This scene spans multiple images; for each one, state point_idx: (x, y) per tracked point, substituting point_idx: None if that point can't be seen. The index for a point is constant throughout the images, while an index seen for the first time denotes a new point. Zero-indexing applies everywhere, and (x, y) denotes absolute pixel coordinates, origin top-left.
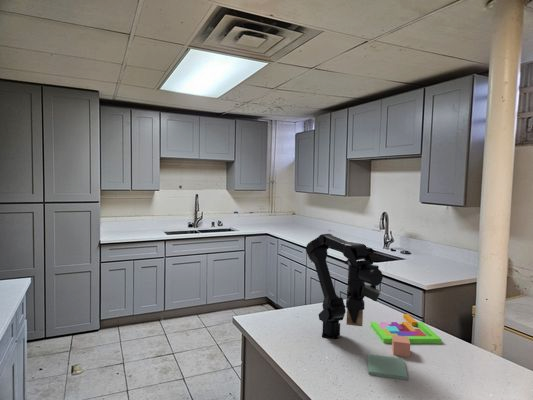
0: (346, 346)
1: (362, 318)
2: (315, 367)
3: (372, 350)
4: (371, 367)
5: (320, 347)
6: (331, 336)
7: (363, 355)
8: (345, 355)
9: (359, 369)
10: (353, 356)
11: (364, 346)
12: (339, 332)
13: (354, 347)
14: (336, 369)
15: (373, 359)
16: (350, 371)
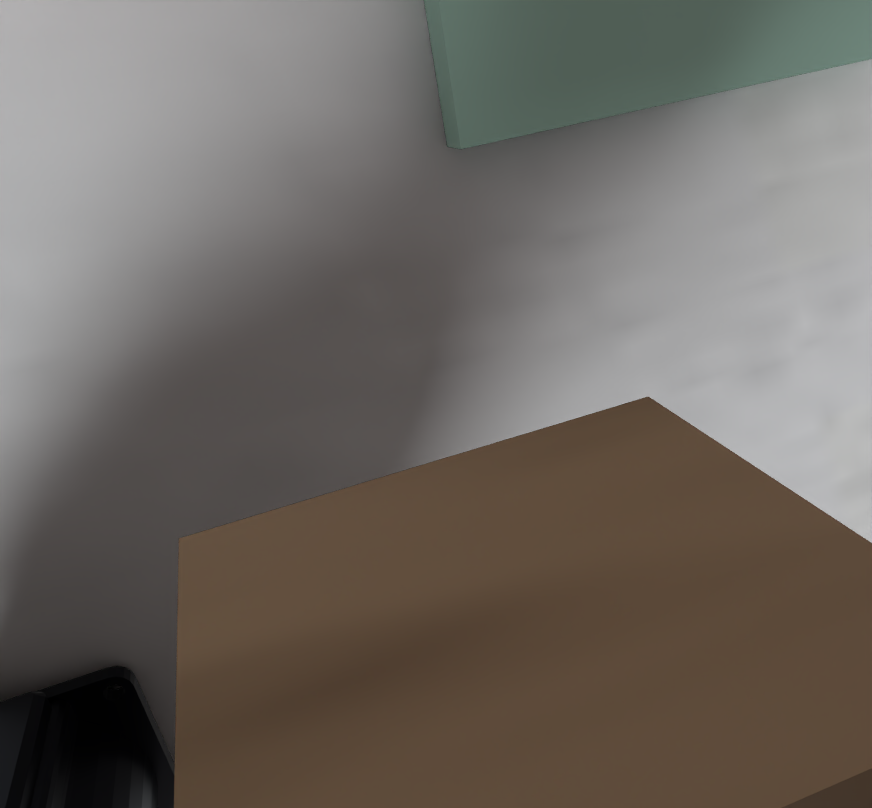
0: (286, 491)
1: (826, 522)
2: None
3: (192, 99)
4: (819, 25)
5: None
6: (142, 753)
7: (439, 207)
8: (540, 420)
9: (799, 180)
10: (525, 326)
11: (119, 258)
12: (36, 729)
13: (253, 388)
14: (850, 402)
15: (601, 25)
16: (857, 264)
